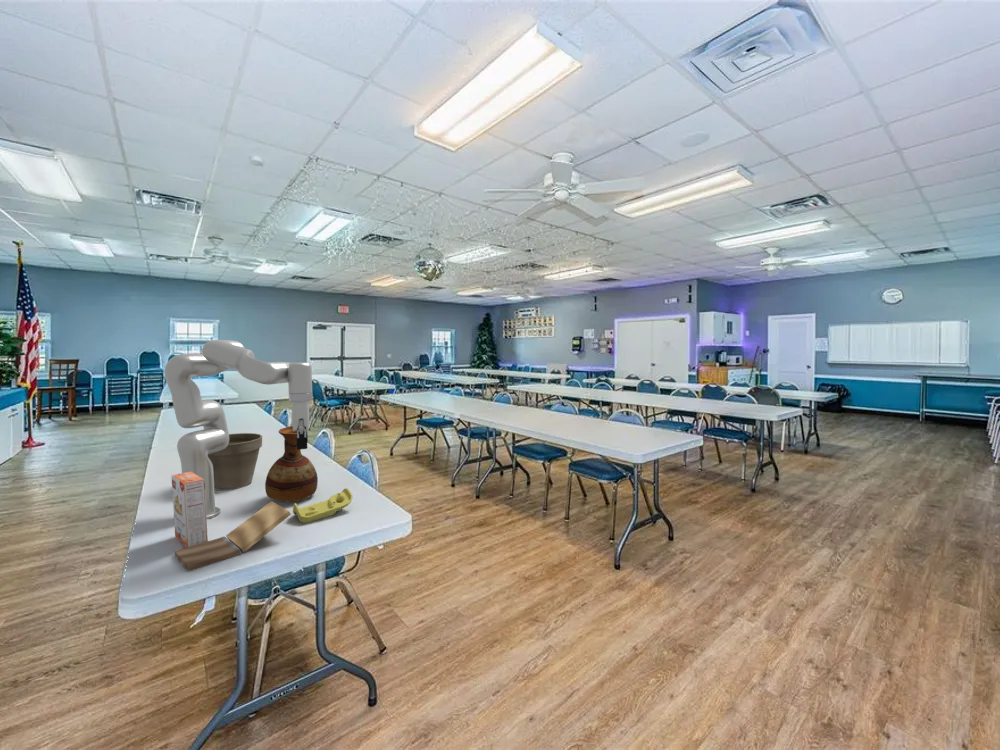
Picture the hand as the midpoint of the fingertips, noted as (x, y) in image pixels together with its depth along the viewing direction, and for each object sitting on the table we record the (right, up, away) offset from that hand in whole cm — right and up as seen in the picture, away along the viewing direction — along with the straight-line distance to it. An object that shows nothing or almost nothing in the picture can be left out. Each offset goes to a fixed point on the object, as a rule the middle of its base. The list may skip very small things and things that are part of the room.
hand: (302, 446), depth 150 cm
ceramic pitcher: (-17, -26, +28) cm, 42 cm away
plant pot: (-53, -26, +45) cm, 74 cm away
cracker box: (-30, -29, -12) cm, 44 cm away
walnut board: (-18, -29, -22) cm, 41 cm away
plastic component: (+4, -28, +10) cm, 29 cm away
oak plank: (-9, -24, -12) cm, 28 cm away
